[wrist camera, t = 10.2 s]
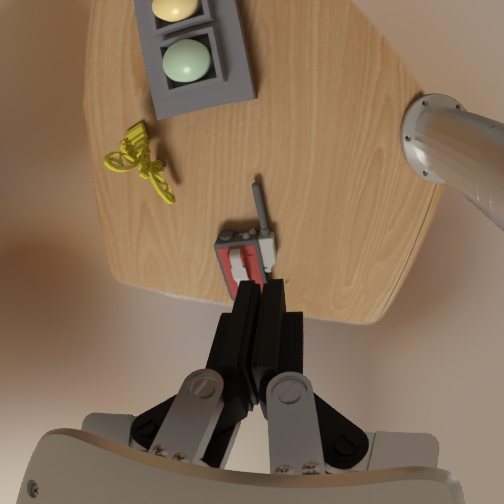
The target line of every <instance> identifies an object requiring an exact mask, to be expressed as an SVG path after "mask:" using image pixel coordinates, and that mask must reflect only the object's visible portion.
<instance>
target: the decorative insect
mask: <svg viewBox="0 0 504 504" xmlns="http://www.w3.org/2000/svg"><path fill="white" fill-rule="evenodd" d="M147 138H148V135H147V133H146V129H145V126H144V124H143V122H141V123H139V124H138V125H136V126H135V127H133V128H132V129H130V130H129V131H127V132H126V139H123V140H121V141H120V148H121V150H122V152H123V153H121V152H111V153H109V154H108V155H106V156H105V157H104V159H103V161H104V164H105V165H106V167H107V168H108V169H110V170H113V171H115V172H125V171H128V170H131V169H134V168H135V167H137V166H138V169H139V171H140V172H139V175H140V176H141V177H143V178H144V179H148V178H150V180H151V182H152V184H153V185H154V187H155V189H156V191H157V192H158V193H159V195H160V196H161V197H162V198H163V199H164V200H165V201H166V202H167V203H169V204H172V203H174V202H175V196H174V194H173V192H172V190H171V188H170V187H169V185H168V184H167V183H166V182H165V181H164V180H163V179H162V178H161V177H160V176H159V175H158V174H159V173H161V172H164V170H165V168H162V166H163V165H162V164H163V162H160V160H158V161H157V160H155V161H154V162H151V160H150V155H149V154H150V148H149V147H148V146H149V140H148V139H147ZM131 143H132V144H133V145H131ZM113 155H118V157H119V160H118V159H115V158H110V157H111V156H113ZM122 158H123V159H124V160H125V161H126V162H128V163H130V164H134V165H131V166H124V164H123V162H122ZM128 159H129V160H128ZM110 160H111V161H115V162H117V163H119V164H120V165H121V166H119V165H116V164H113V163H112V162H111V161H110ZM158 181H159V182H158ZM159 183H161V184H162V185H165V187H166V190H163V188H162V187H161V185H160V184H159ZM165 192H166V193H167V194H169V195H170V196H171V198H170V197H169V196H168V195H167V194H166V193H165Z"/></svg>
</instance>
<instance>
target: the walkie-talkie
mask: <svg viewBox="0 0 504 504" xmlns="http://www.w3.org/2000/svg"><path fill="white" fill-rule="evenodd" d="M252 189H253V194H254V199H255V203H256V208H257V212H258V217H259V222H260V232H261V233H258V232H257V231H255V229H254V228H251V229H249V232H244V233H236V234H233V232H232V231H230V230H228V231H224V232H222V233H221V234H220V235H219V236H218V238H217V240H216V242H215V244H214V249H215V252H216V255H217V258H218V261H219V264H220V268H221V270H222V273H223V276H224V279H225V281H226V284H227V287H228V288H227V289H228V292H229V294H230V297H231V299H232V300H233V301H235V298H236V294H237V290H238V286H239V283H240V281H241V280H255V283H256V284H257V283H260V286H261V292H262V289H263V284H264V283H268V281H269V279H270V273H271V271H272V266H273V265H274V263H275V262H276V257H277V252H276V247H275V241H274V237H275V235H274V232H270V229H269V226H268V224H267V219H266V214H265V209H264V204H263V199H262V194H261V190H260V185H259V183H257V182H255V183H253V184H252ZM267 272H268V273H267Z"/></svg>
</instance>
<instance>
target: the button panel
mask: <svg viewBox="0 0 504 504" xmlns="http://www.w3.org/2000/svg"><path fill="white" fill-rule="evenodd" d="M201 1H202V6H201V9H200V10H199V12H198V13H197V14H196V16H194V17H193V18H190V19H187V20H184V21H181V22H178V23H170V22H168V21H165V20H163V19H161V18H159V17H157V16H156V15H155V14H154V13H153V10H152V2H153V0H134V4H135V11H136V18H137V24H138V30H139V35H140V41H141V47H142V52H143V57H144V62H145V67H146V72H147V77H148V82H149V86H150V91H151V95H152V100H153V104H154V108H155V113H156V117H157V121H158V120H161V119H165V118H168V117H172V116H176V115H179V114H183V113H187V112H191V111H195V110H200V109H204V108H209V107H213V106H218V105H223V104H228V103H234V102H239V101H245V100H251V99H256V98H257V95H256V90H255V84H254V79H253V74H252V68H251V63H250V58H249V53H248V48H247V43H246V38H245V33H244V28H243V23H242V19H241V14H240V9H239V5H238V0H201ZM185 39H190V40H195V41H197V42H199V43H202V44H204V45H206V46H207V47H208V48H209V49H210V50H211V52H212V56H213V66H212V69H211V70H210V72H209V73H208V74H207V75H206V76H205V77H204V78H202V79H201V80H198V81H195V82H178V81H174V80H172V79H171V78H169V77H168V76H167V75H166V73H165V71H164V69H163V57H164V55H165V53H166V51H167V49H168V48H169V47H170V46H171V45H173V44H174V43H176V42H178V41H180V40H185Z"/></svg>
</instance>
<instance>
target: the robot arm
mask: <svg viewBox="0 0 504 504" xmlns="http://www.w3.org/2000/svg"><path fill="white" fill-rule="evenodd" d="M422 102H423V103H424V104H422ZM406 136H407V138H406V139H405V137H406ZM401 146H402V150H403V153H404V156H405V158H406V160H407V162H408V164H409V165H410V166H411V168H412V169H413V170H414V171H415V172H416V173H417V174H418V175H419V176H421V177H422V178H423V179H425V180H428V181H430V182H433V183H448V184H449V185H450V186H451V187H453V188H454V189H455V190H456V191H458V192H459V193H460V194H461V195H462V196H464V197H465V198H466V199H467V200H468V201H469V202H471V203H472V204H473V205H474V206H475V207H476V208H477V209H478V210H479V211H481V212H482V213H483V214H484V215H485V216H486V217H487V218H488V219H489V220H491V221H492V223H494V224H495V225H496V226H497V227H498V228H499V229H501V230H503V231H504V124H503V123H501V122H498V121H495V120H492V119H489V118H486V117H483V116H480V115H476V114H473V113H469V112H467V111H466V109H465V108H464V107H463V106H462V105H461V104H460V103H459V102H457V101H456V100H455V99H453V98H451V97H449V96H446V95H442V94H427V95H424V96H422V97H420V98H418V99H417V100H415V101H414V102H413V103H412V104H411V105H410V106H409V108H408V110H407V111H406V113H405V115H404V118H403V121H402V125H401ZM423 171H424V172H423ZM259 402H260V405H261V409H262V412H263V415H264V418H265V419H266V420H267V421H268V435H269V453H270V473H271V474H261V473H250V472H240V471H232V470H224V467H225V465H226V463H227V460H228V457H229V455H230V452H231V449H232V447H233V444H234V441H235V438H236V436H237V433H238V430H239V427H240V424H241V420H242V419H244V418H245V417H247V414H248V411H253V406H254V405H258V403H259ZM438 455H439V442H438V441H437V439H436V437H434V436H433V435H432V434H428V433H400V432H382V431H376V433H373V432H363V431H362V430H361V429H360V428H359V427H357V426H356V425H354V424H353V423H352V422H351V421H349V420H348V419H347V418H345V417H344V416H343V415H341V414H340V413H339V412H337V411H336V410H335V409H334V408H332V407H331V406H330V405H329V404H327V403H326V402H325V401H324V400H322V399H321V398H319V396H317V395H316V394H315V393H314V392H313V388H312V385H311V382H310V381H309V380H308V378H307V377H305V376H304V375H303V312H286V303H285V293H284V283H283V279H269V281H268V283H264V284H263V289H262V292H261V286H260V283H257V284H256V283H255V280H241V281H240V283H239V286H238V290H237V294H236V298H235V302H234V306H233V310H232V313H222V314H221V316H220V319H219V323H218V326H217V330H216V334H215V337H214V340H213V344H212V347H211V350H210V354H209V357H208V361H207V365H206V368H205V369H200V370H196V371H194V372H192V373H191V374H189V375H188V376H187V377H186V379H185V380H184V382H183V384H182V386H181V388H180V390H179V392H178V394H176V395H174V396H173V397H171V398H169V399H168V400H166V401H164V402H162V403H160V404H159V405H157V406H155V407H153V408H151V409H150V410H148V411H146V412H144V413H142V414H140V415H139V416H136V417H135V416H133V415H129V414H128V415H127V414H126V415H125V414H107V413H91V414H89V415H87V416H86V418H85V419H84V421H83V423H82V428H81V430H77V429H70V428H59V429H54V430H50V431H49V432H47V433H45V435H44V436H43V437H42V438H41V439H40V441H39V442H38V444H37V446H36V448H35V450H34V452H33V454H32V456H31V459H30V461H29V464H28V466H27V469H26V472H25V475H24V478H23V481H22V484H21V488H20V491H19V495H18V498H17V503H16V504H465V503H464V495H463V491H462V487H461V484H460V482H459V480H458V479H457V477H456V476H455V475H454V474H453V473H451V472H449V471H446V470H443V469H439V468H437V462H438Z"/></svg>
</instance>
